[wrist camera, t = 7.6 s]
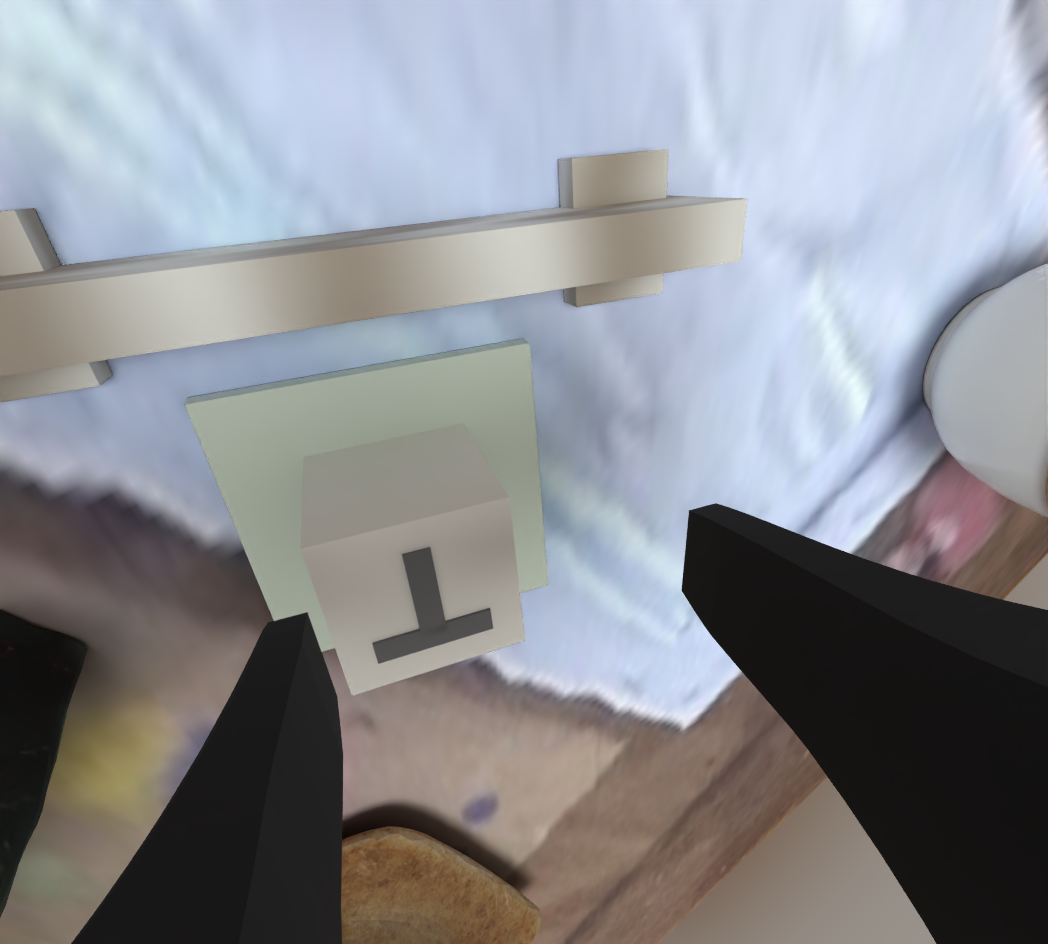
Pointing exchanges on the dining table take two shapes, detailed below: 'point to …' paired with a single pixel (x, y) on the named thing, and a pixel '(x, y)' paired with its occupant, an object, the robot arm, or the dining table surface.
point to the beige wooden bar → (350, 273)
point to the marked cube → (410, 554)
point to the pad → (359, 418)
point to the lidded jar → (997, 389)
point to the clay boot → (426, 894)
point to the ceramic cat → (29, 729)
